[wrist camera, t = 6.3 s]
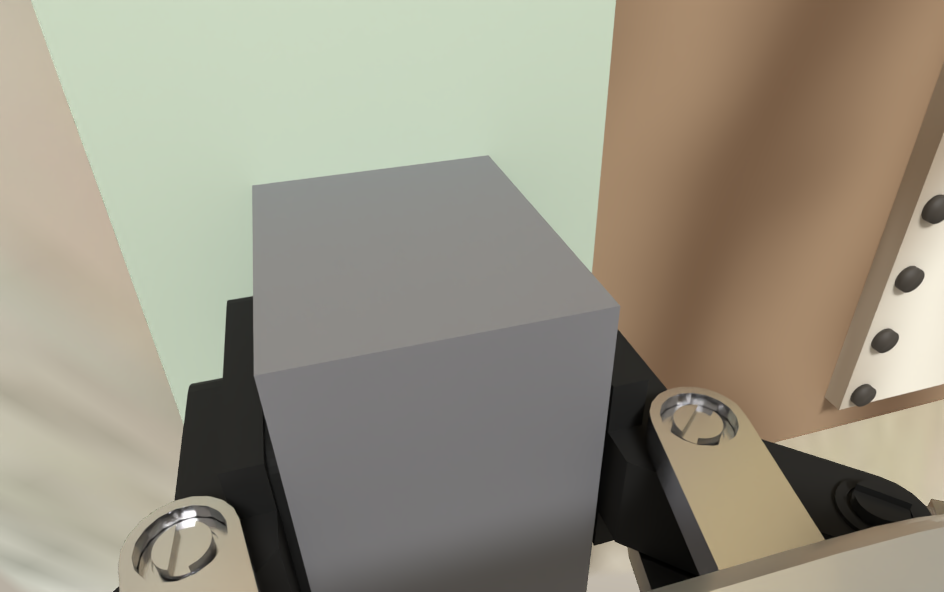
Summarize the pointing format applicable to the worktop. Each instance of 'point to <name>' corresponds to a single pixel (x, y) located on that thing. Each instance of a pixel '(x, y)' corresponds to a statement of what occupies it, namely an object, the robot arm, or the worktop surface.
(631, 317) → the ticket board
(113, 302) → the worktop surface
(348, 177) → the stub
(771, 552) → the robot arm
